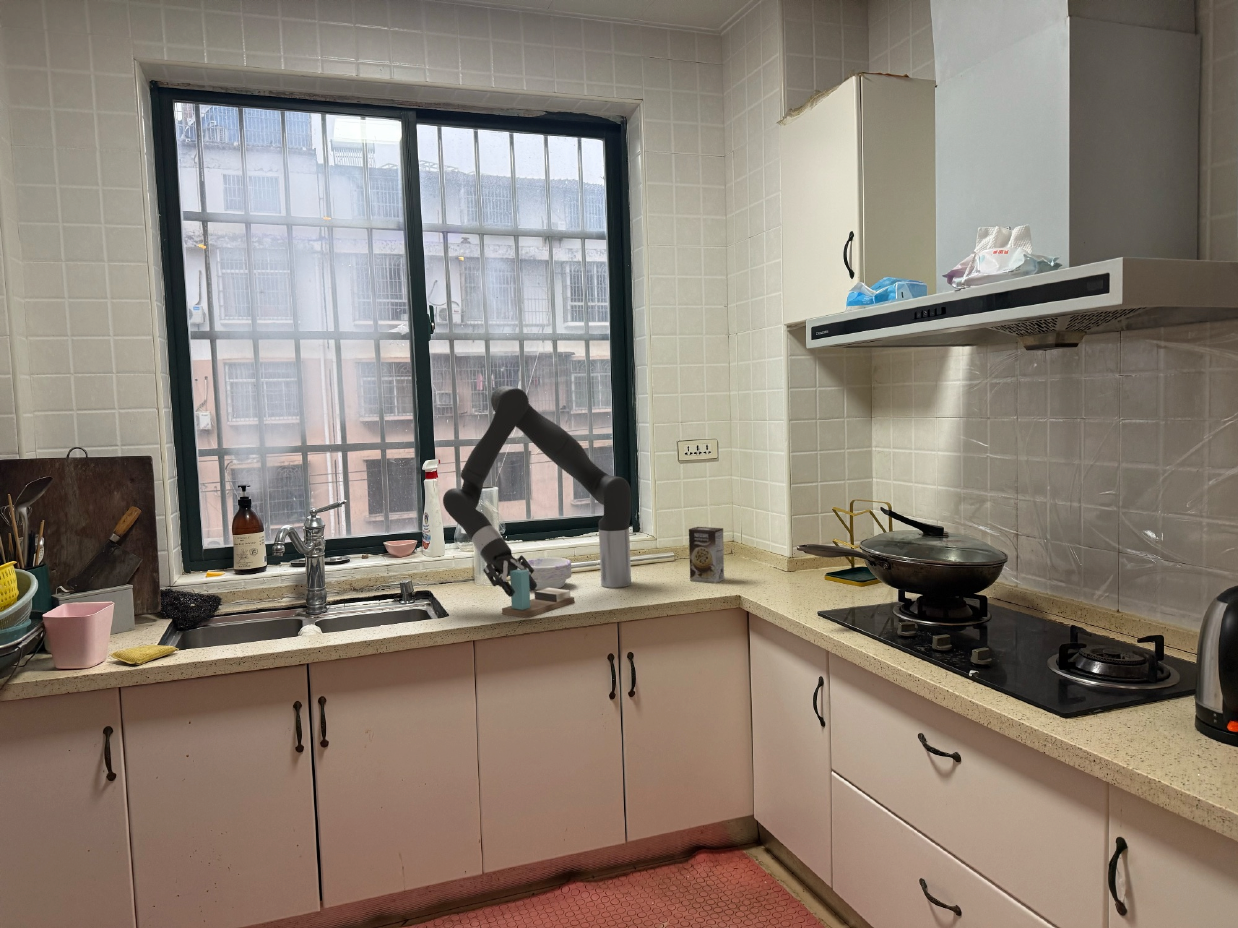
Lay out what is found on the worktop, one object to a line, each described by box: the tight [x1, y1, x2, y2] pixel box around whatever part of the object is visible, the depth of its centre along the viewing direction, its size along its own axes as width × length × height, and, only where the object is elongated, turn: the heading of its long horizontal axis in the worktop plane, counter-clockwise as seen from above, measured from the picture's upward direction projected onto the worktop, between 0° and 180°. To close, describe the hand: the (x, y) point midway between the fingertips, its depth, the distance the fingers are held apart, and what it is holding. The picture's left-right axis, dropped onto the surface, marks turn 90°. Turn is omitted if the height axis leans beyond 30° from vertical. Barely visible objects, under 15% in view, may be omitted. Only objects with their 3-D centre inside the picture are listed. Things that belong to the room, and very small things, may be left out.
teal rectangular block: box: [509, 568, 531, 610], centre depth 229 cm, size 3×4×10 cm
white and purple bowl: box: [526, 557, 573, 591], centre depth 261 cm, size 15×15×8 cm
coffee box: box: [688, 526, 725, 584], centre depth 261 cm, size 9×6×16 cm
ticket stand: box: [501, 588, 575, 619], centre depth 235 cm, size 20×9×4 cm, turn 143°
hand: (523, 591), depth 228 cm, fingers open, 8 cm apart
